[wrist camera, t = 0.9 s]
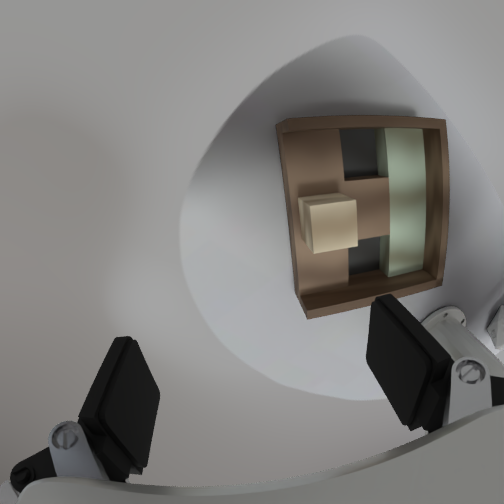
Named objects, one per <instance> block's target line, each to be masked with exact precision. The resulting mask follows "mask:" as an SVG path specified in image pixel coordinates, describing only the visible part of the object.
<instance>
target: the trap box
mask: <svg viewBox="0 0 504 504" xmlns="http://www.w3.org/2000/svg"><path fill="white" fill-rule="evenodd" d="M276 130H277V137H278V144H279V151H280V159H281V166H282V174H283V182H284V190H285V198H286V206H287V215H288V224H289V233H290V243H291V253H292V263H293V273H294V284H295V294H296V296H297V298H298V300H299V302H300V304H301V307H302V309H303V311H304V313H305V315H306V317H307V319H312V318H317V317H322V316H327V315H331V314H336V313H340V312H345V311H349V310H353V309H357V308H362V307H366V306H370V305H371V303H372V302H373V301H375V298H376V297H377V296H381V295H385V294H392V295H393V296H394V297H395V298H396V299H397V298H400V297H404V296H408V295H411V294H415V293H418V292H422V291H425V290H428V289H432V288H435V287H438V286H442V282H443V275H444V267H445V259H446V250H447V238H448V224H449V192H450V185H449V154H448V139H447V129H446V120H445V119H435V118H423V117H408V116H382V115H344V116H318V117H302V118H289V119H286V120H284V121H282V122H280V123H278V124H276ZM331 193H341V194H343V195H346V196H348V197H350V198H353V199H355V200H356V207H357V233H358V246H356V247H350V248H344V249H339V250H333V251H327V252H321V253H315V254H314V253H313V252H312V251H311V250H310V248H309V247H308V246H307V245H306V244H305V242H304V241H303V240H302V234H301V223H300V213H299V204H298V198H300V197H307V196H315V195H323V194H331Z"/></svg>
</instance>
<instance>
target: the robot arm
mask: <svg viewBox="0 0 504 504" xmlns="http://www.w3.org/2000/svg"><path fill="white" fill-rule="evenodd" d="M366 360H367V364H368V366H369V367H370V369H371V371H372V372H373V374H374V376H375V378H376V379H377V381H378V383H379V384H380V386H381V388H382V390H383V391H384V393H385V395H386V396H387V398H388V400H389V402H390V403H391V405H392V407H393V408H394V410H395V412H396V414H397V416H398V417H399V419H400V421H401V423H402V424H403V425H407V426H408V427H409V429H410V431H412V430H414V429H417V428H419V427H421V426H422V427H423V429H424V430H425V436H423V437H421V438H418V439H416V440H414V441H411V442H409V443H406V444H404V445H402V446H399V447H397V448H394V449H392V450H389V451H387V452H384V453H381V454H378V455H375V456H372V457H369V458H366V459H363V460H360V461H357V462H354V463H351V464H347V465H343V466H340V467H337V468H332V469H329V470H325V471H320V472H316V473H312V474H307V475H302V476H298V477H292V478H287V479H281V480H274V481H267V482H260V483H251V484H241V485H228V486H208V487H176V486H155V485H141V484H131V483H130V482H129V480H128V478H129V474H139V475H142V471H143V468H145V467H146V466H147V464H148V458H149V452H150V446H151V441H152V436H153V430H154V425H155V420H156V415H157V410H158V405H159V400H160V392H159V389H158V386H157V385H156V382H155V380H154V378H153V376H152V374H151V372H150V370H149V367H148V365H147V363H146V361H145V359H144V356H143V354H142V352H141V350H140V347H139V345H138V342H137V341H136V340H133V339H132V338H131V337H130V336H126V337H116V338H115V339H114V341H113V343H112V345H111V347H110V349H109V351H108V353H107V355H106V357H105V359H104V361H103V363H102V365H101V367H100V369H99V371H98V373H97V376H96V378H95V380H94V382H93V384H92V386H91V388H90V391H89V393H88V395H87V397H86V400H85V402H84V404H83V407H82V409H81V411H80V413H79V416H78V417H79V420H78V422H74V421H64V422H61V423H59V424H57V425H56V426H55V427H54V428H53V429H52V430H51V432H50V434H49V437H48V444H49V447H47V448H46V449H44V450H42V451H40V452H38V453H36V454H35V455H33V456H31V457H29V458H27V459H25V460H23V461H21V462H19V463H18V464H17V465H16V466H15V467H14V468H13V469H12V472H11V476H10V480H11V482H9V481H8V480H6V481H5V482H4V483H3V484H2V485H0V504H504V364H503V363H502V362H501V361H500V360H499V359H498V358H497V357H496V356H495V355H494V354H493V353H492V352H491V351H490V350H489V349H488V348H487V347H486V346H484V345H483V344H482V343H481V342H480V341H479V340H478V339H477V338H476V337H475V336H474V335H473V334H472V333H471V332H470V331H469V330H467V329H466V317H465V315H464V313H463V312H462V311H461V310H460V309H458V308H457V307H454V306H447V307H444V308H441V309H439V310H437V311H435V312H434V313H432V314H431V315H430V316H428V317H427V318H426V319H425V320H424V321H423V322H422V323H420V322H419V321H418V320H417V319H416V318H415V317H414V316H413V315H412V314H411V313H410V312H409V311H408V310H407V309H406V308H405V307H404V306H403V305H402V304H401V303H400V302H399V301H398V300H397V299H396V298H395V297H394V296H393V295H392V294H385V295H381V296H377V297H376V298H375V301H373V302H372V303H371V311H370V324H369V334H368V343H367V352H366Z"/></svg>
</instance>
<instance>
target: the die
mask: <svg viewBox="0 0 504 504" xmlns="http://www.w3.org/2000/svg"><path fill="white" fill-rule="evenodd" d="M487 330H488V332H489V334H490V337H491V339H492V341H493V344H494V346H495V349H499V350H504V306H502V305H501V306H500V308H499V310H498V312H497V313H496V315H495V317H494V318H493V320H492V322H491V323H490V325H489V326H488V328H487Z"/></svg>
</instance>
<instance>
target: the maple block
mask: <svg viewBox="0 0 504 504" xmlns="http://www.w3.org/2000/svg"><path fill="white" fill-rule="evenodd" d="M298 204H299V213H300V223H301V234H302V240H303V241H304V242H305V244H306V245H307V246H308V247H309V248H310V250H311V251H312V252H313V253H314V254H315V253H321V252H327V251H333V250H339V249H344V248H350V247H356V246H358V233H357V207H356V200H355V199H353V198H350V197H348V196H346V195H343V194H341V193H331V194H323V195H315V196H307V197H300V198H298Z"/></svg>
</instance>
